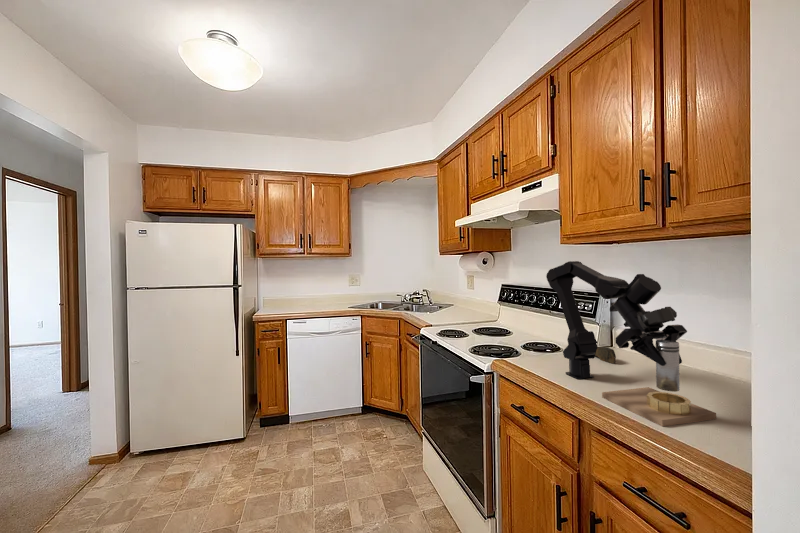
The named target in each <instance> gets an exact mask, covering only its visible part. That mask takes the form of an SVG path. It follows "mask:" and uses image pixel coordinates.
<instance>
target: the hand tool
mask: <svg viewBox="0 0 800 533" xmlns="http://www.w3.org/2000/svg"><path fill="white" fill-rule="evenodd" d="M595 357H597V358H599V359H600V361H602V362H606V363H609V364H613V365H614V364H616V358H617V356H616V352H615V350H614V349H612V348H609V347H606V346H601V347H600V346H597V350H596V354H595Z"/></svg>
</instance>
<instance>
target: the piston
mask: <svg viewBox="0 0 800 533" xmlns="http://www.w3.org/2000/svg"><path fill="white" fill-rule="evenodd" d="M655 347H656V349H657V350H658V352H659V353H660V355H661V356H662V357H663V359H664V361H665V363H666V365H664V366H661V365H660V364H658V363H656V362H655V377H656V378H655V379H656V380H655V382H656V383H655V385H656V386H655V388H656V389H659V390H662V391H664V392H665V391H666V392H680V388H681V387H680V364H679V354H680V342H678V341H670V340H656V339H655Z"/></svg>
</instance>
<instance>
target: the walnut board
mask: <svg viewBox="0 0 800 533" xmlns="http://www.w3.org/2000/svg"><path fill="white" fill-rule="evenodd" d="M650 392H661V391H659V390H657V389H655V388H652V387H647V386H646V387H637V388H630V389H629V388H627V389H620V390H612V391H611V390H609V391H602V392H601V398H603V399H605V400H607V401H609V402H610V403H613V404H615V405H617V406H619V407H621V408H624V409H625V410H627V411H630V412H632V413H634V414H636V415H638V416H639V417H642V418H645V419H646V420H648V421H650V422H653V423H655V424H657V425H658V426H661V427H669V426H675V425H682V424H690V423H697V422H703V421H705V422H706V421H711V420H717V412H715V411H713V410H710V409H707V408H705V407H702V406H699V405H696V404H694V403H691V412H690V414H686V415H674V414H667V413H663V412H659V411H657V410H654V409H652V408H650V407H649V406H648V405H647V394H648V393H650Z"/></svg>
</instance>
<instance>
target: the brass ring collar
mask: <svg viewBox="0 0 800 533" xmlns="http://www.w3.org/2000/svg"><path fill="white" fill-rule="evenodd" d="M691 404H692V401H691V400H690V399H689V398H688V397H685V396H682V395H679V394H677V393H671V392H668V391H666V392H665V391H660V392H650V393H648V394H647V405H648V406H649V407H650V408H652V409H654V410H657V411H659V412H663V413H667V414H674V415H686V414H690V412H691Z"/></svg>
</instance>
